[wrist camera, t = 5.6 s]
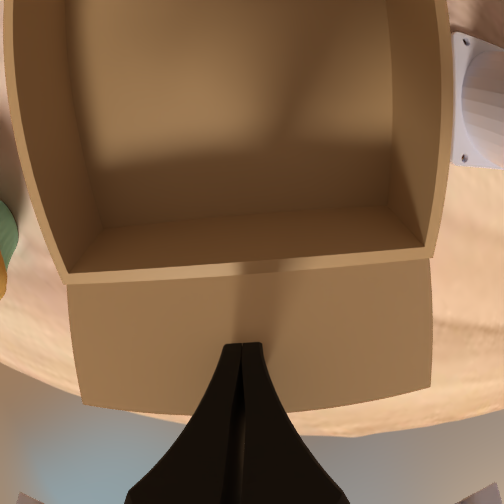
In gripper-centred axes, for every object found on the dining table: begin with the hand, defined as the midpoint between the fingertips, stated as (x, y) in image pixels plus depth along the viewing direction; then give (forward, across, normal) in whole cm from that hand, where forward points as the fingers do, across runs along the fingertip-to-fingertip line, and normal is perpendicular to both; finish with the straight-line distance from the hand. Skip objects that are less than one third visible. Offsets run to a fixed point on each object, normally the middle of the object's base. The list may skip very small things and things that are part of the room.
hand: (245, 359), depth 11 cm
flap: (+1, 0, 0) cm, 1 cm away
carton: (+7, 0, -13) cm, 15 cm away
